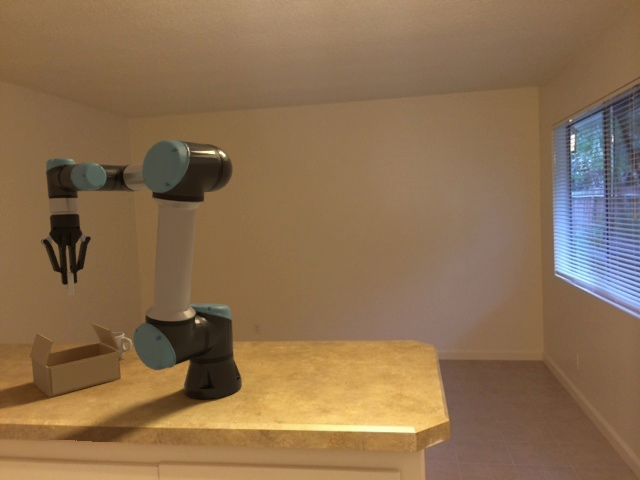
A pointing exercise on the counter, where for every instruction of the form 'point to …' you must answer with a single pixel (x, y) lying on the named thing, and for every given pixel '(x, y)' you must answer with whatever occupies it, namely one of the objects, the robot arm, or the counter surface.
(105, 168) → the robot arm
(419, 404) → the counter surface
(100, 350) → the carton
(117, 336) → the cup
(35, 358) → the flap near
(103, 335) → the flap far
